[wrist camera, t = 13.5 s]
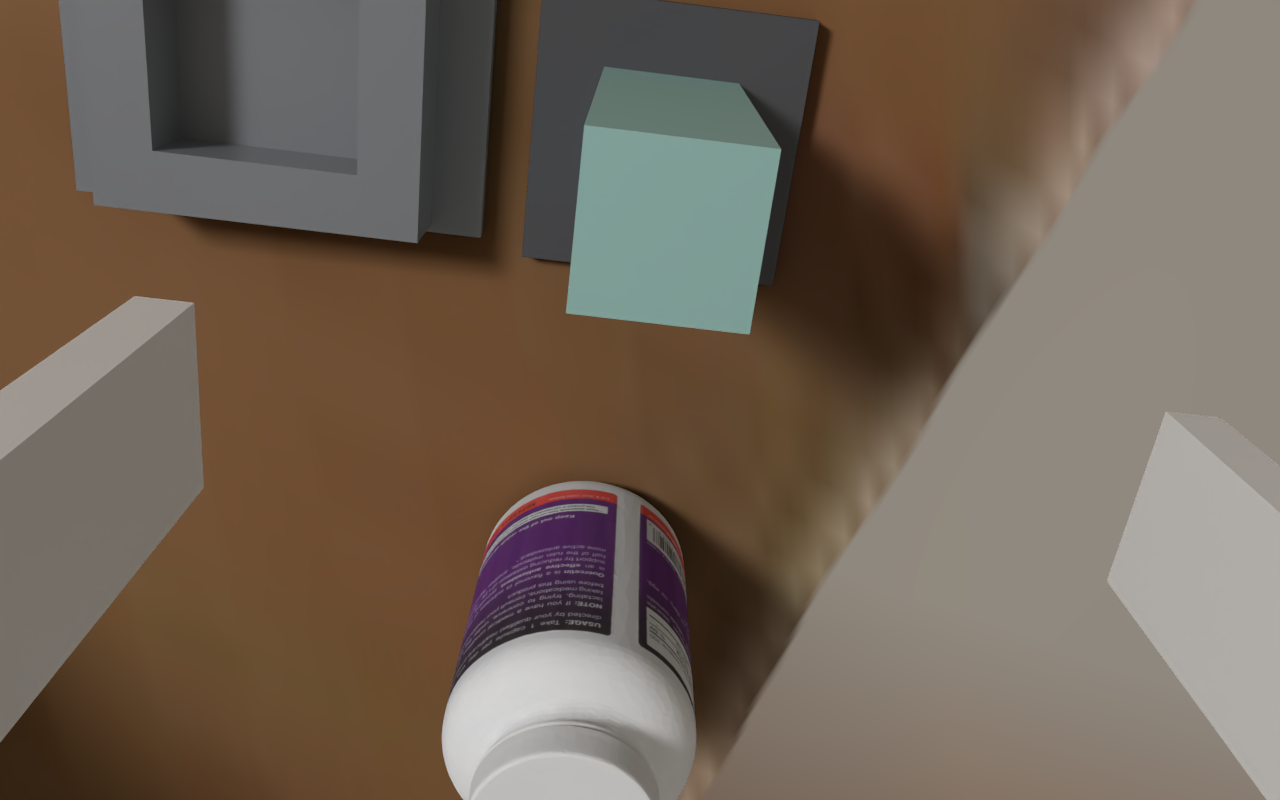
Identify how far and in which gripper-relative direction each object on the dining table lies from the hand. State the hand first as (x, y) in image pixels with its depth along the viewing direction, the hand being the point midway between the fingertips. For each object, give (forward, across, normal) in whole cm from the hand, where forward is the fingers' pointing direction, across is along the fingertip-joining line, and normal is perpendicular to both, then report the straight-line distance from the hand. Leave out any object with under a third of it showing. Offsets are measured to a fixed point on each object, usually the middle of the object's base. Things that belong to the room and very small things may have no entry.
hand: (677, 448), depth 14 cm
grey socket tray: (+24, -13, +2) cm, 27 cm away
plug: (+23, 0, 0) cm, 23 cm away
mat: (+24, 0, 0) cm, 24 cm away
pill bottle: (+24, -1, -17) cm, 30 cm away
